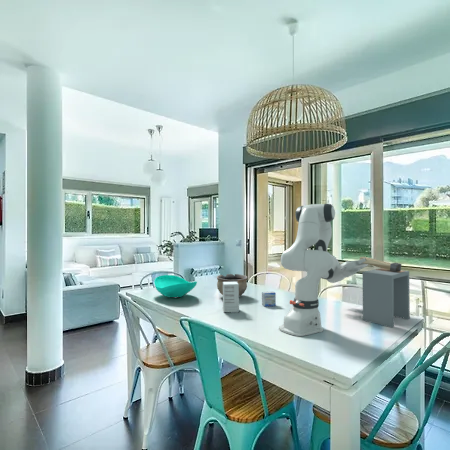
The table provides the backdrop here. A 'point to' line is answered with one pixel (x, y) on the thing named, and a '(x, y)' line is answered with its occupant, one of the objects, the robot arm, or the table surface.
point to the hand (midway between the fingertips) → (367, 258)
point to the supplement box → (230, 297)
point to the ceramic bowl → (231, 278)
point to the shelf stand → (385, 296)
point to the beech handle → (383, 264)
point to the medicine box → (268, 299)
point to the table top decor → (173, 285)
